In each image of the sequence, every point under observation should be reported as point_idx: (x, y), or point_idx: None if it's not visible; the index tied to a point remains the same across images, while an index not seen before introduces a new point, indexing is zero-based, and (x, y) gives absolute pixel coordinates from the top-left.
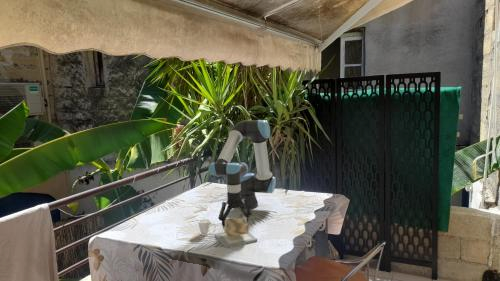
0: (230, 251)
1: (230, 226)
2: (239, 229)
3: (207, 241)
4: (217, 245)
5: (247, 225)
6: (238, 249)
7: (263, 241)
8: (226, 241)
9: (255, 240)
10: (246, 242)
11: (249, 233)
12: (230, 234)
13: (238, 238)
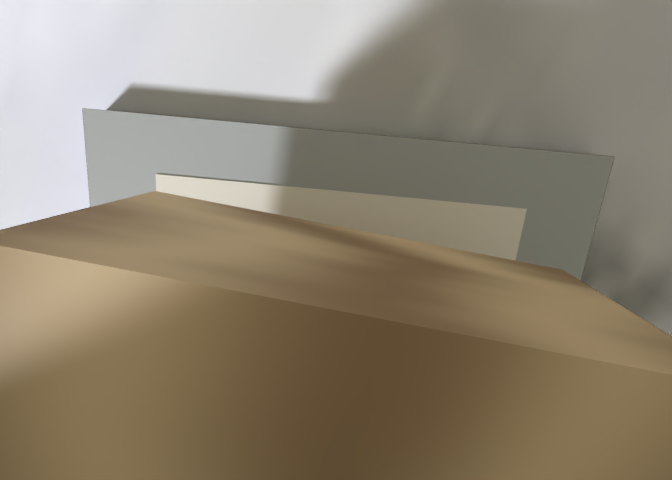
0: (615, 12)
1: (646, 431)
2: (340, 262)
3: None
4: (631, 301)
5: (32, 235)
6: (478, 7)
7: (25, 51)
8: None
9: (124, 112)
10: (274, 126)
11: None
12: (551, 277)
13: None
